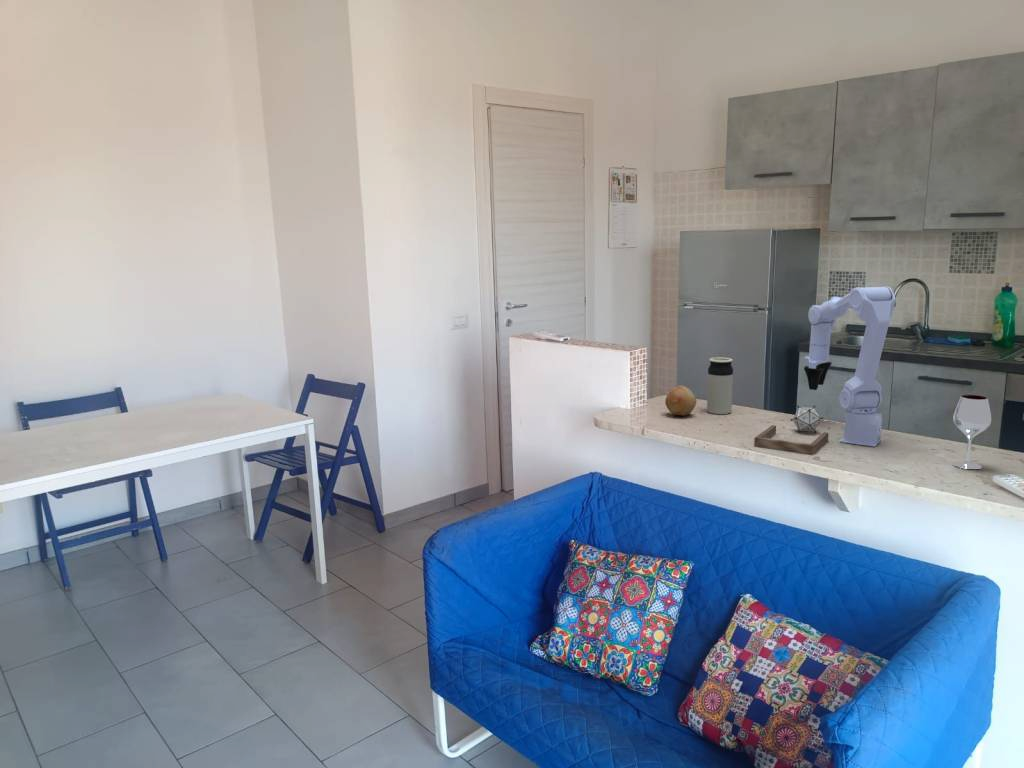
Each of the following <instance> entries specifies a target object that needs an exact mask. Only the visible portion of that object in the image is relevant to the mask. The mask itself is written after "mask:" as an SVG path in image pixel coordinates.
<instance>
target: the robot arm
mask: <svg viewBox="0 0 1024 768" xmlns="http://www.w3.org/2000/svg"><path fill="white" fill-rule="evenodd" d="M896 301H897V298H896V296H895V293H894V291H893V289H892V288H891V287H890V286H888V285H886V286H870V287H867V286H866V287H862V286H860V287H859V286H856V287H855V288H852V289H850V292H849V293H847V294H846V295H844V296H842V297H840V296H832V297H830V300H828V301H824V302H822V304H820V305H817V304H812V306H810V308H809V310H808V313H807V314H808V315H807V316H808V321H809V323H810V324H811V326H810V337H809V338H810V339H809V340H810V341H809V351H808V356H805V357H804V360H805V361H806V360H807V362H808V365H805V366H803V370H804V372H805V375H806V378H807V383H808V389H809V390H812V391H817V390H818V387H819V385H820V386H823V385H824V382H825V381H826V376H827V373H828V372H829V369H830V368H831V366H832V362H831V361H830V358H829V357H830V348H831V347H830V346H831V335H832V334H831V333H832V330H833V328H834V324H835V322H836V320H837V319H838V318H840V317H843V316H845V315H846V314H847V313H848V310H849V309H851V308H852V309H853V311H854V312H855V314H856V315H857V317H858V318H859V319H860V320H861V321H863V322H865V324H866V325H865V329H864V330H865V331H864V334H863V338H862V342H861V343H862V344H861V346H860V351H859V355H858V359H857V364H856V369H855V372H854V376H853V377H851V378H850V379H848V380H847V381H845V383H844V386H843V389H842V390H841V392H840V394H839V399H838V400H839V404H840V406H841V408H842V409H843V411H845V413H844V414H845V415H844V428H843V429H844V430H843V431H844V432H843V436H842V438H841V439H839V442H840V443H844V444H850V445H851V444H853V445H858V446H859V445H860V446H867V447H873V448H874V447H876V446H878V445H879V443H880V442H881V441H882V425H883V414H882V413H881V412H880V413H878V412H877V409H879V407H880V406H881V404H882V401H883V398H882V396H883V395H882V392H883V387H882V385H881V384H880V382H878V381H877V379H876V378H877V377H876V376H877V374H878V369H879V365H880V360H881V357H882V352H883V349H884V345H885V342H886V337H887V333H888V329H889V327H890V326H889V325H890V320H891V319H892V317H893V312H894V309H895V305H896Z"/></svg>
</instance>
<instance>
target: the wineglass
mask: <svg viewBox="0 0 1024 768" xmlns="http://www.w3.org/2000/svg"><path fill="white" fill-rule="evenodd" d="M952 417H953V420H952V421H953V423H954V425H955V427H957V429H958V430H959V431H960V432H962V434H964V435H965V437H966V438H967V445H966V447H967V448H966V455H965V461H956V462H953V463H952V466H953V465H954V466H953V467H955V466H957V467H960V468H959V469H961V467H962V468H965V469H964V470H966V469H980V470H981V469H982V468H983V467H982V466H981V465H980V464H977V463H975V462H970V461H971V451H972V450H971V449H972V440H973V439H974V438H975V437H977V435H979V434H981V433H983V432H985V431H986V430H987V429H988V428H989V427H990V426H991V423H992V413H991V408H990V401H989V399H988V397H987V396H983V395H980V394H979V395H977V394H962V395H960V397H959V400H958V402H957V405H956V407H955V410H954V412H953V416H952ZM957 467H956V468H957Z"/></svg>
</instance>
